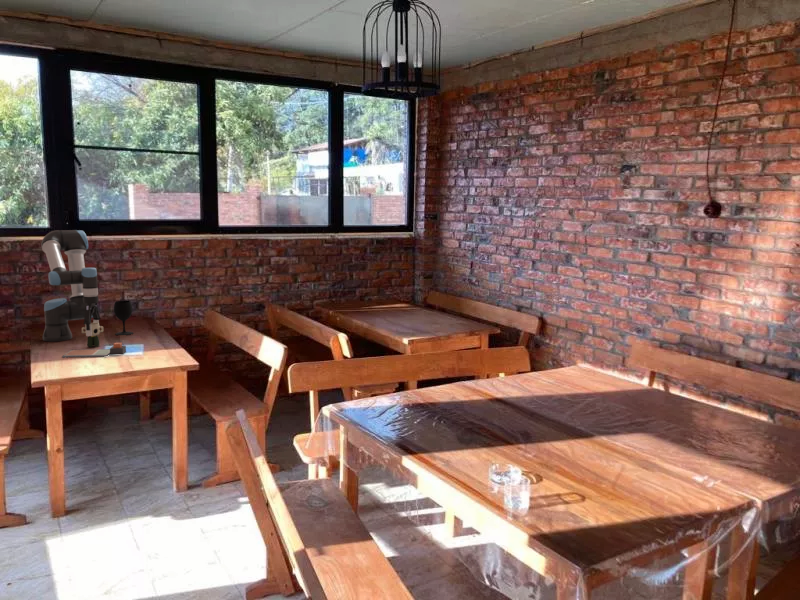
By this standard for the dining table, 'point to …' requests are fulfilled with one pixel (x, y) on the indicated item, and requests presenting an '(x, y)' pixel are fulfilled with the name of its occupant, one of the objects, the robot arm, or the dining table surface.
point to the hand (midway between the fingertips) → (92, 333)
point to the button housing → (117, 350)
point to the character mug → (93, 334)
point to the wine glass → (123, 314)
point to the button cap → (117, 345)
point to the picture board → (87, 353)
